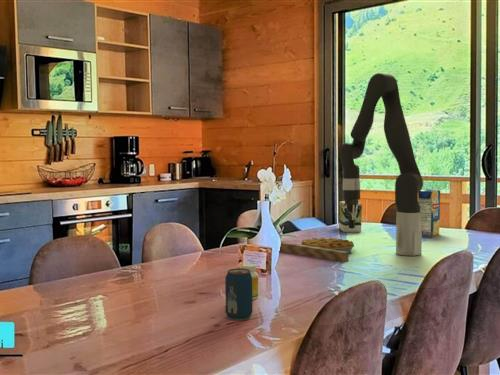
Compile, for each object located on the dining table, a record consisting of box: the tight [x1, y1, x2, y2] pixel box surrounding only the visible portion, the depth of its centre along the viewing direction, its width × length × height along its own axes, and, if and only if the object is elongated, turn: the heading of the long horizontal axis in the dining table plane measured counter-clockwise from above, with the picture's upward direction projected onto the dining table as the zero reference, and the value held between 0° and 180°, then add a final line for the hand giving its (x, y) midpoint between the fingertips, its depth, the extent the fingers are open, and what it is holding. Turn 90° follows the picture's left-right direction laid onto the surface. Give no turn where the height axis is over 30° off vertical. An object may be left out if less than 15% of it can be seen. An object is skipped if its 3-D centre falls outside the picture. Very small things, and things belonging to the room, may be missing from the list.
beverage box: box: [418, 189, 441, 238], centre depth 283 cm, size 7×11×22 cm, turn 141°
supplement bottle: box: [241, 263, 259, 301], centre depth 165 cm, size 5×5×10 cm
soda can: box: [224, 267, 254, 321], centre depth 146 cm, size 7×7×12 cm
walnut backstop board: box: [279, 241, 349, 263], centre depth 230 cm, size 36×3×4 cm, turn 46°
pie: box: [301, 237, 355, 255], centre depth 239 cm, size 22×22×5 cm
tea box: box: [338, 200, 363, 233], centre depth 299 cm, size 15×10×15 cm
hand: (351, 228), depth 250 cm, fingers closed
